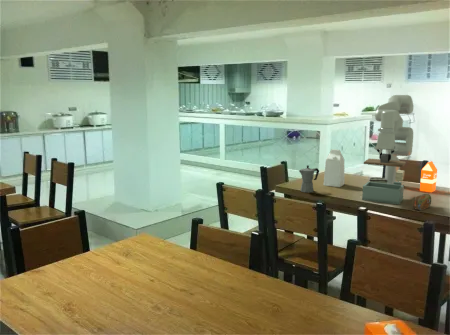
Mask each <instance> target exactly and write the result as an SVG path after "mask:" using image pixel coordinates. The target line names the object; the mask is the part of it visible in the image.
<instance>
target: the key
mask: <svg viewBox="0 0 450 335" xmlns="http://www.w3.org/2000/svg"><path fill="white" fill-rule="evenodd" d="M404 180H405V170H401V169H400V170H398V171H397V172H396V178H395V181H399V182H403V181H404Z"/></svg>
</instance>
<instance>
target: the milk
mask: <svg viewBox="0 0 450 335" xmlns="http://www.w3.org/2000/svg"><path fill="white" fill-rule="evenodd" d="M323 176H324V177H323V186H328V187H335V188H341V187H342V186H344V185H345V158H344V155H343V154H342V153H341V150H340V149H335V148H334V149H333V148H332V149H330V152H329V154H328V155H327V157H326V159H325V166H324V175H323Z"/></svg>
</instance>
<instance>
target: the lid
mask: <svg viewBox="0 0 450 335" xmlns="http://www.w3.org/2000/svg"><path fill="white" fill-rule="evenodd" d="M388 155H389V154H386V153H383V152H382V155H381V160H380V159H378V158H367V159H366V160H365V161H363V164H364V165H371V166H372V165H373V166H383V167H384V166H385V167H386V166H395V167H400V168H403V167H404V166H405V165H406V164H407V161H405V160H400V161H395V160H390V161H388Z"/></svg>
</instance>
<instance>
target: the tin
mask: <svg viewBox="0 0 450 335" xmlns="http://www.w3.org/2000/svg"><path fill="white" fill-rule="evenodd" d="M431 204H432V196H431V194H429V193H422V194H420V195H417V196H415V198H414V202H413V208H414V209H415V210H417V211H423V210H426V209H429V207H431Z"/></svg>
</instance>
